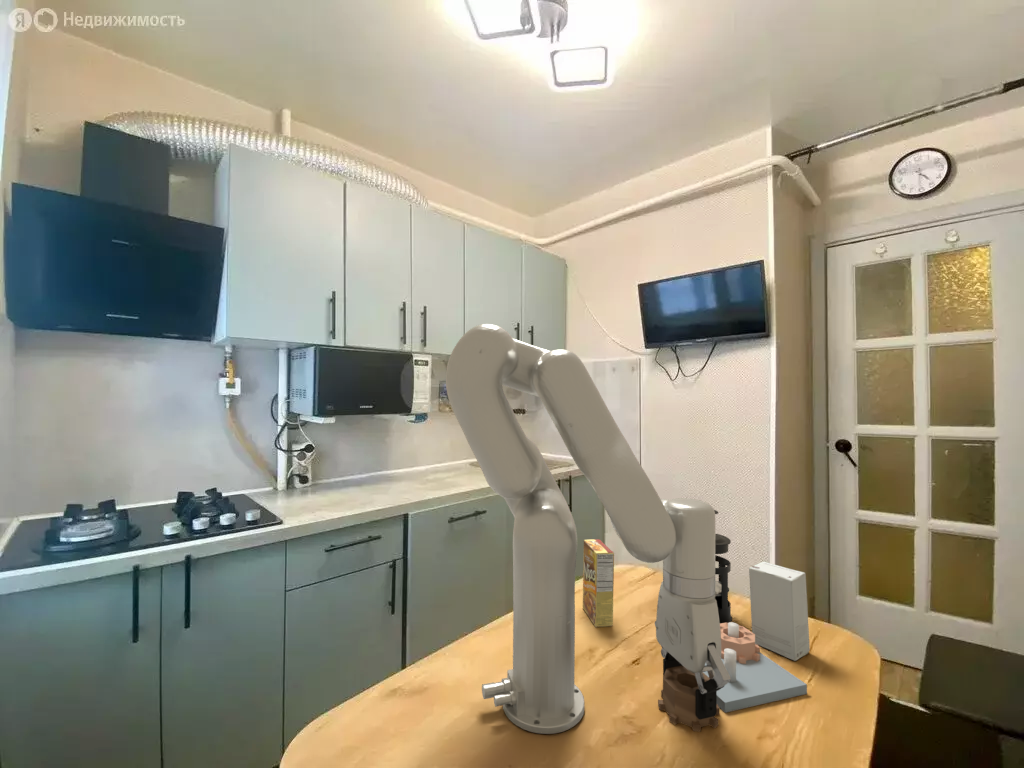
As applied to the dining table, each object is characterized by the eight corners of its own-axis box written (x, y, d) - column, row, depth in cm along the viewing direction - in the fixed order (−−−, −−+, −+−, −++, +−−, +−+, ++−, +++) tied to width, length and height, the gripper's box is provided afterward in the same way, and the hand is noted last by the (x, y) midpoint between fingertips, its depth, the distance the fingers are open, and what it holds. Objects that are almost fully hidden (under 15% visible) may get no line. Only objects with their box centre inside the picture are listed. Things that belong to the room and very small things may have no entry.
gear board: (724, 712, 69) (724, 672, 69) (661, 654, 85) (662, 621, 85) (808, 693, 74) (808, 656, 74) (734, 641, 89) (734, 610, 89)
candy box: (581, 607, 103) (582, 539, 103) (599, 606, 103) (600, 538, 104) (595, 628, 94) (595, 553, 94) (614, 626, 95) (615, 552, 95)
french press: (708, 601, 106) (708, 502, 106) (743, 620, 98) (743, 512, 98) (669, 611, 101) (670, 507, 101) (703, 632, 93) (704, 518, 93)
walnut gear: (682, 735, 64) (682, 703, 65) (648, 697, 73) (648, 668, 73) (732, 724, 67) (732, 692, 67) (693, 687, 75) (693, 660, 75)
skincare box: (810, 653, 85) (809, 573, 86) (794, 663, 82) (794, 580, 82) (764, 633, 92) (764, 559, 93) (748, 642, 89) (748, 565, 89)
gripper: (636, 563, 77) (635, 669, 77) (707, 611, 61) (707, 746, 60) (674, 559, 80) (674, 662, 79) (753, 604, 63) (753, 735, 63)
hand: (688, 698), depth 70 cm, fingers closed on walnut gear, 7 cm apart
